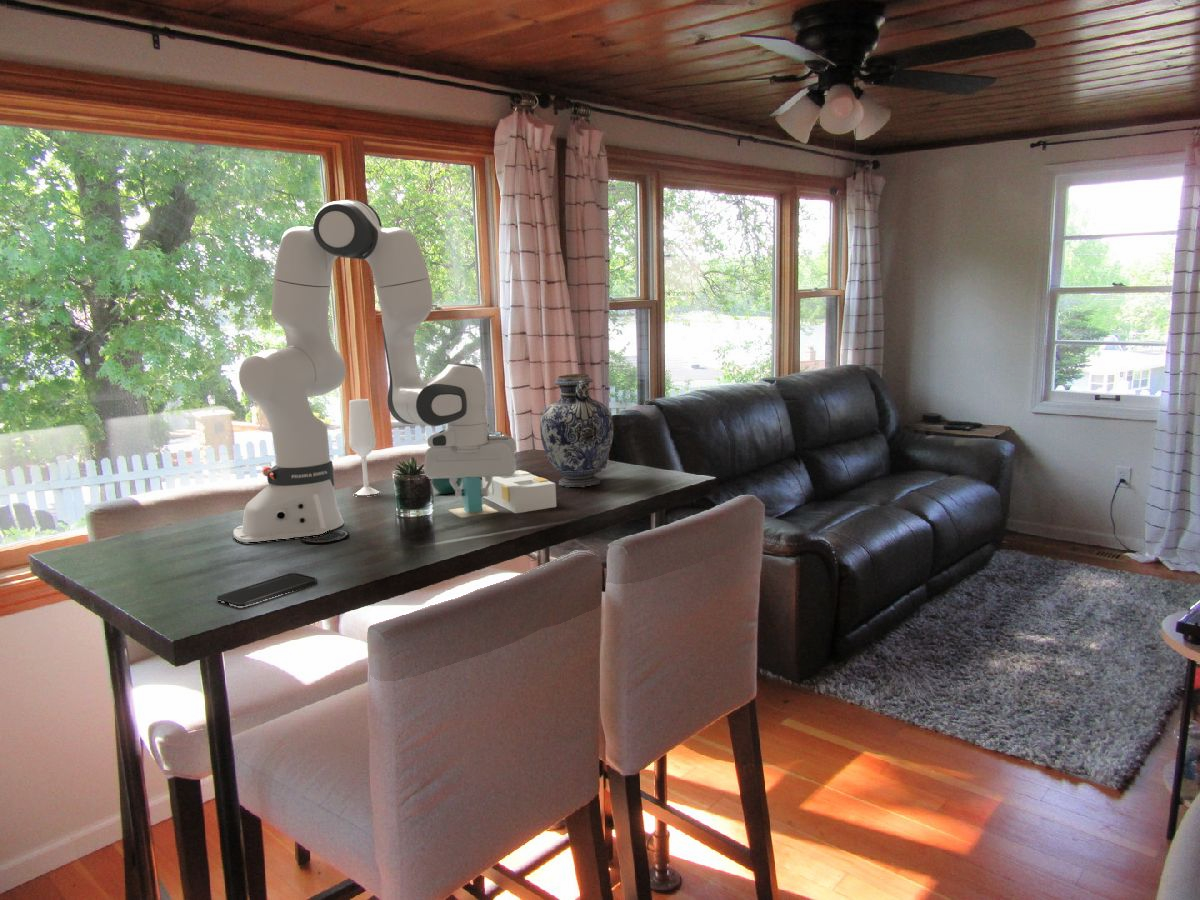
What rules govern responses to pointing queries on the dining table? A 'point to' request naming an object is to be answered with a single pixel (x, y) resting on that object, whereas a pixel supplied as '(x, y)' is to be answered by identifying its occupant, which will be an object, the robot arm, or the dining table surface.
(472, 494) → the plug
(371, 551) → the dining table surface
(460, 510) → the coaster
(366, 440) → the champagne flute
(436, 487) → the sphere
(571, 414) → the decorative vase
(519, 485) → the block
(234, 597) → the phone
